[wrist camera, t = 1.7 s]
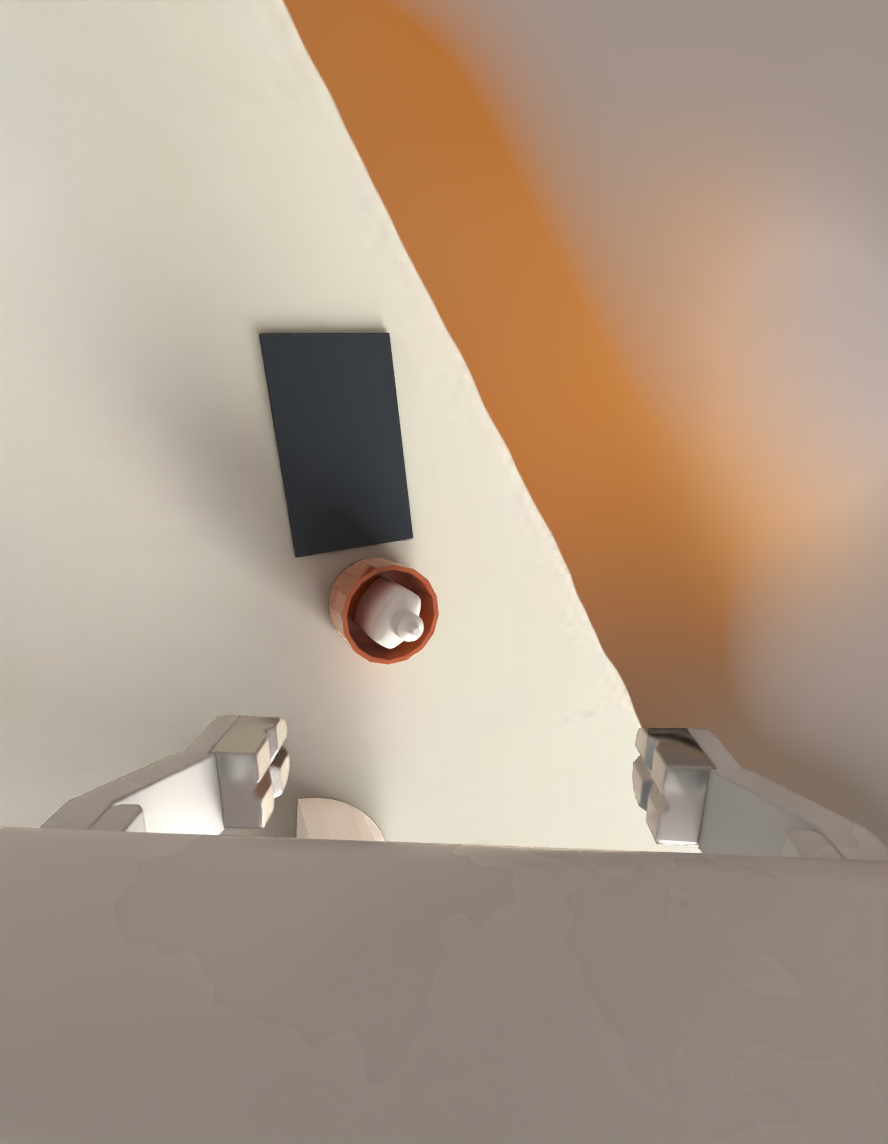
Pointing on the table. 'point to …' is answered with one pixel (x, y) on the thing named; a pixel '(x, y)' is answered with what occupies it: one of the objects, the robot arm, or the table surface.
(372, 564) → the cup
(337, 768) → the table surface
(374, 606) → the eye dropper bottle
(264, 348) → the mat
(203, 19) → the table surface
